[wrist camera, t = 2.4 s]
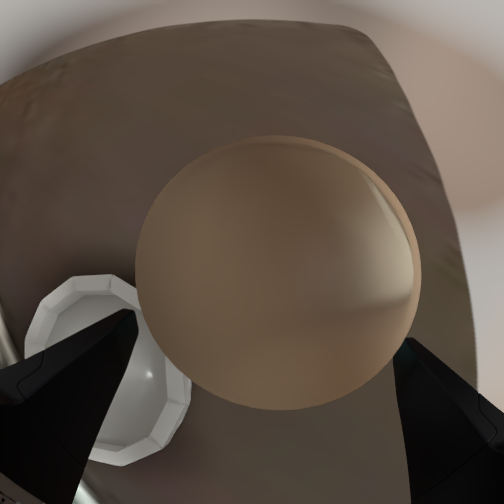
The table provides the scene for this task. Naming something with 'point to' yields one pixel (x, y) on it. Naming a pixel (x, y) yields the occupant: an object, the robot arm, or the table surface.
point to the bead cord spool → (278, 272)
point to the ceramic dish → (137, 373)
